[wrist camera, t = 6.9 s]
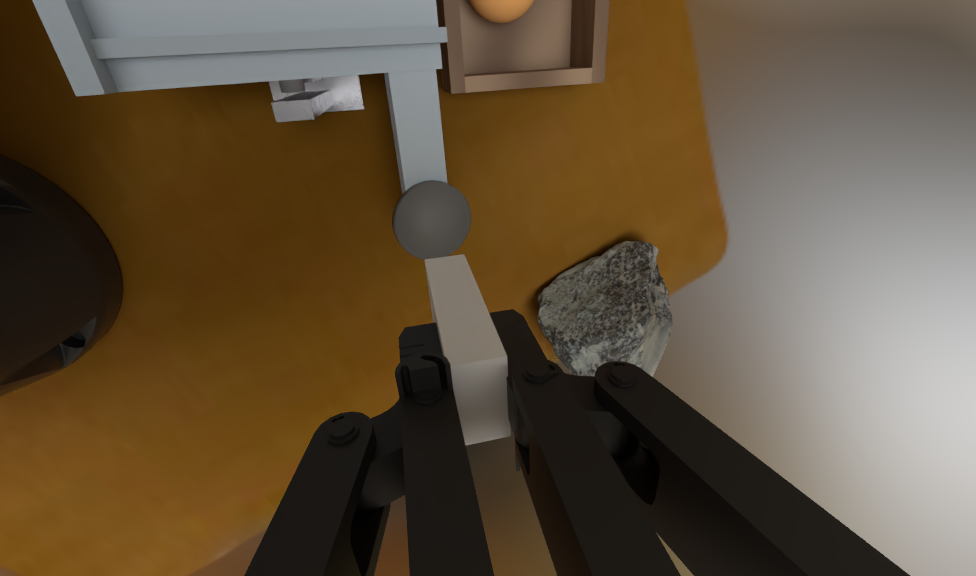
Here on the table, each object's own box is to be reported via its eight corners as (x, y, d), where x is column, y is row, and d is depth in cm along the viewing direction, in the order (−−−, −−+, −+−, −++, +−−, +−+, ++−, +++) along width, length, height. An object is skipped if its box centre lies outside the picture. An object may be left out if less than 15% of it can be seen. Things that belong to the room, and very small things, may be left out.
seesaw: (192, 306, 22) (185, 336, 19) (-35, -217, 13) (-97, -282, 11) (463, 242, 27) (484, 259, 25) (428, -156, 19) (455, -189, 16)
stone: (635, 306, 26) (640, 428, 30) (689, 237, 32) (686, 347, 37) (505, 281, 32) (526, 387, 36) (572, 227, 38) (583, 323, 43)
